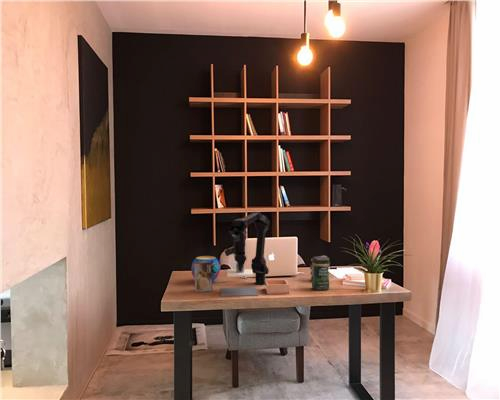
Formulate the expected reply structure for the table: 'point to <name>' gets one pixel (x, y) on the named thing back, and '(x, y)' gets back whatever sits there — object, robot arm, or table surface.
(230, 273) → the lid
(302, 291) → the table surface
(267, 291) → the open box
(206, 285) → the coffee box
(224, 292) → the mat
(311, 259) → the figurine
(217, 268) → the ceramic pot
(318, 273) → the coffee jar
